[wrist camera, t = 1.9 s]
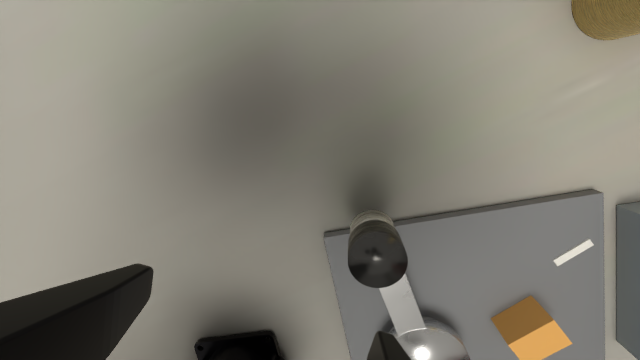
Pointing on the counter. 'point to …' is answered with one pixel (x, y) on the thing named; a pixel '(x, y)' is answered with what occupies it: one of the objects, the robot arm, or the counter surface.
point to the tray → (628, 277)
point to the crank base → (495, 279)
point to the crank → (397, 288)
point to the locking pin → (607, 18)
